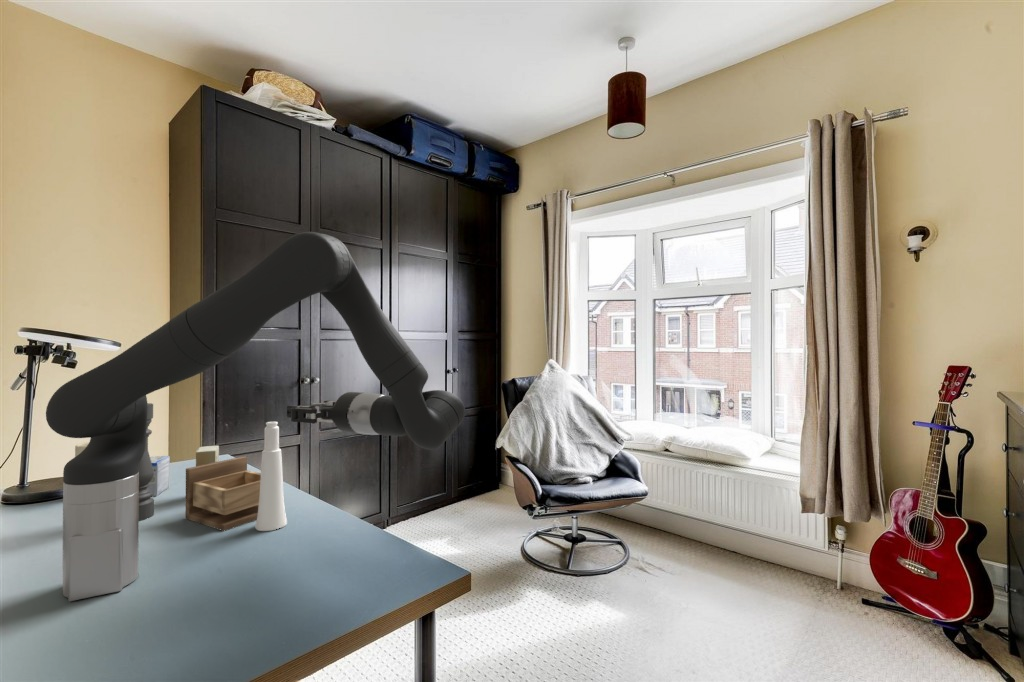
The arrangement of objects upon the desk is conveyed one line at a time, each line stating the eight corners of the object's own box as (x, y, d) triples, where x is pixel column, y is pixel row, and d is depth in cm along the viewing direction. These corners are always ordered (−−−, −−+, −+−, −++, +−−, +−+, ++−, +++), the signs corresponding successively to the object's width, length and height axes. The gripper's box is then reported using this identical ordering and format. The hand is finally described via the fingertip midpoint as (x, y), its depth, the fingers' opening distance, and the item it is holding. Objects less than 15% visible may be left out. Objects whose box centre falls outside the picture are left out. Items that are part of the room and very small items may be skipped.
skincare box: (199, 494, 122) (199, 446, 122) (219, 491, 123) (219, 444, 123) (194, 501, 116) (195, 451, 116) (215, 499, 117) (215, 449, 118)
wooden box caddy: (280, 511, 109) (281, 463, 109) (223, 531, 98) (223, 477, 98) (243, 501, 116) (243, 456, 116) (185, 518, 104) (185, 468, 105)
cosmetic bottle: (250, 526, 100) (251, 422, 100) (280, 518, 105) (280, 419, 105) (261, 534, 96) (262, 425, 96) (291, 525, 101) (292, 422, 101)
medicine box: (150, 488, 126) (150, 456, 126) (169, 487, 127) (170, 455, 127) (136, 498, 118) (136, 463, 118) (157, 496, 120) (157, 462, 120)
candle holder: (160, 512, 108) (161, 403, 108) (136, 523, 102) (137, 406, 102) (136, 511, 108) (136, 402, 109) (110, 522, 102) (111, 406, 102)
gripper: (392, 389, 93) (335, 386, 101) (333, 397, 81) (274, 393, 89) (392, 427, 93) (335, 421, 101) (334, 440, 81) (274, 433, 89)
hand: (307, 408), depth 95 cm, fingers open, 8 cm apart
